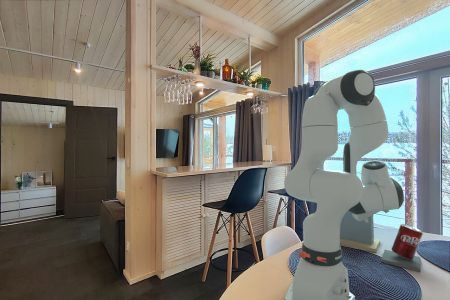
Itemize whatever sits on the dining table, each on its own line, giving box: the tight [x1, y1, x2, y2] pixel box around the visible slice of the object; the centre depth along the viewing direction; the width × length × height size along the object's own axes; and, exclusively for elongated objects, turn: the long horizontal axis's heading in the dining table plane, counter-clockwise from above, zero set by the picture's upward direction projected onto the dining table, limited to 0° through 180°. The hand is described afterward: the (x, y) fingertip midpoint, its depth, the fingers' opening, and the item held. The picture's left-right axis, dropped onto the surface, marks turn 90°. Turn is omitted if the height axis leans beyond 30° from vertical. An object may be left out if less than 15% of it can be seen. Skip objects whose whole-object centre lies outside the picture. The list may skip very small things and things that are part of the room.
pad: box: [380, 249, 421, 272], centre depth 93 cm, size 12×12×1 cm
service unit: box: [340, 211, 381, 253], centre depth 112 cm, size 14×18×18 cm
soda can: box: [391, 223, 424, 260], centre depth 92 cm, size 7×7×12 cm
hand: (376, 216), depth 98 cm, fingers open, 8 cm apart
